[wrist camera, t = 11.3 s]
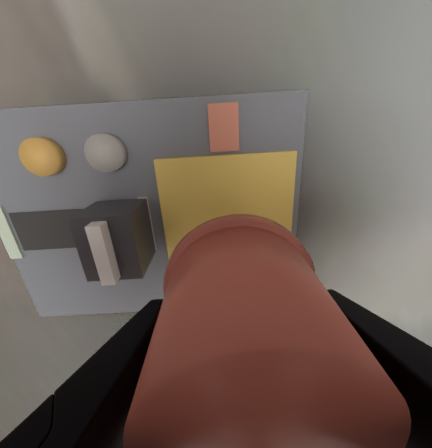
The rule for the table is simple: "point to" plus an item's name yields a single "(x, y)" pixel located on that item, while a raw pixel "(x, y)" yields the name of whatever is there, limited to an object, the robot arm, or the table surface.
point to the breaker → (114, 240)
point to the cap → (257, 352)
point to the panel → (141, 181)
